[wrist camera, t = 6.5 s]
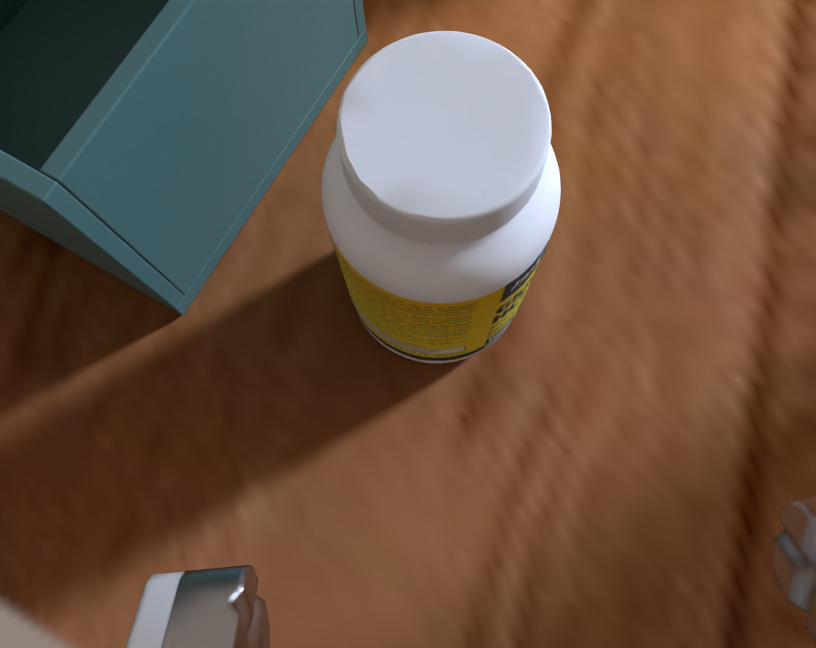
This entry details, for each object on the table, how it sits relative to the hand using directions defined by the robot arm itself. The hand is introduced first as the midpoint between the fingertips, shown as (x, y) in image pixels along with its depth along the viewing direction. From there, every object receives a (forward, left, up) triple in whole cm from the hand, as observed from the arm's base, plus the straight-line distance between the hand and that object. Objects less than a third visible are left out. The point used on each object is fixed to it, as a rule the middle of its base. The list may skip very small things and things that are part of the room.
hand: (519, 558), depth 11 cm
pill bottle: (-7, -5, -13) cm, 16 cm away
